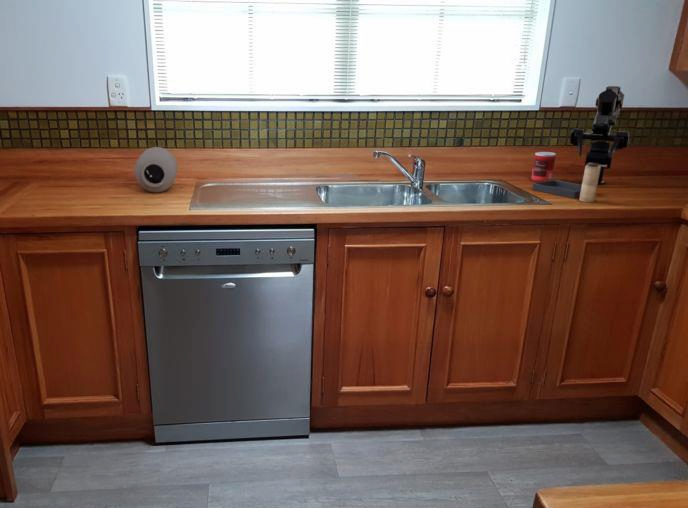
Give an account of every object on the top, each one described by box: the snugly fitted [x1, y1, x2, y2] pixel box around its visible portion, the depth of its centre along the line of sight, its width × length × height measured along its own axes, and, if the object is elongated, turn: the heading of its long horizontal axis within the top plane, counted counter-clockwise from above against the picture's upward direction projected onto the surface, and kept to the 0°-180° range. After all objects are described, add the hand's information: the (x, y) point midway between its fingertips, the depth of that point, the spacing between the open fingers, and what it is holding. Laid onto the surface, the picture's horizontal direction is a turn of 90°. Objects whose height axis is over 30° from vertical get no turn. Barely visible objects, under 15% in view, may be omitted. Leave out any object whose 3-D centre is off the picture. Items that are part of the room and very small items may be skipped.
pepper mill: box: [578, 163, 601, 203], centre depth 211 cm, size 5×5×13 cm
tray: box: [531, 179, 582, 199], centre depth 226 cm, size 13×17×2 cm
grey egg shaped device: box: [133, 146, 178, 194], centre depth 222 cm, size 19×15×25 cm
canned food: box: [531, 151, 557, 183], centre depth 243 cm, size 8×8×11 cm
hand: (594, 156), depth 215 cm, fingers open, 9 cm apart
